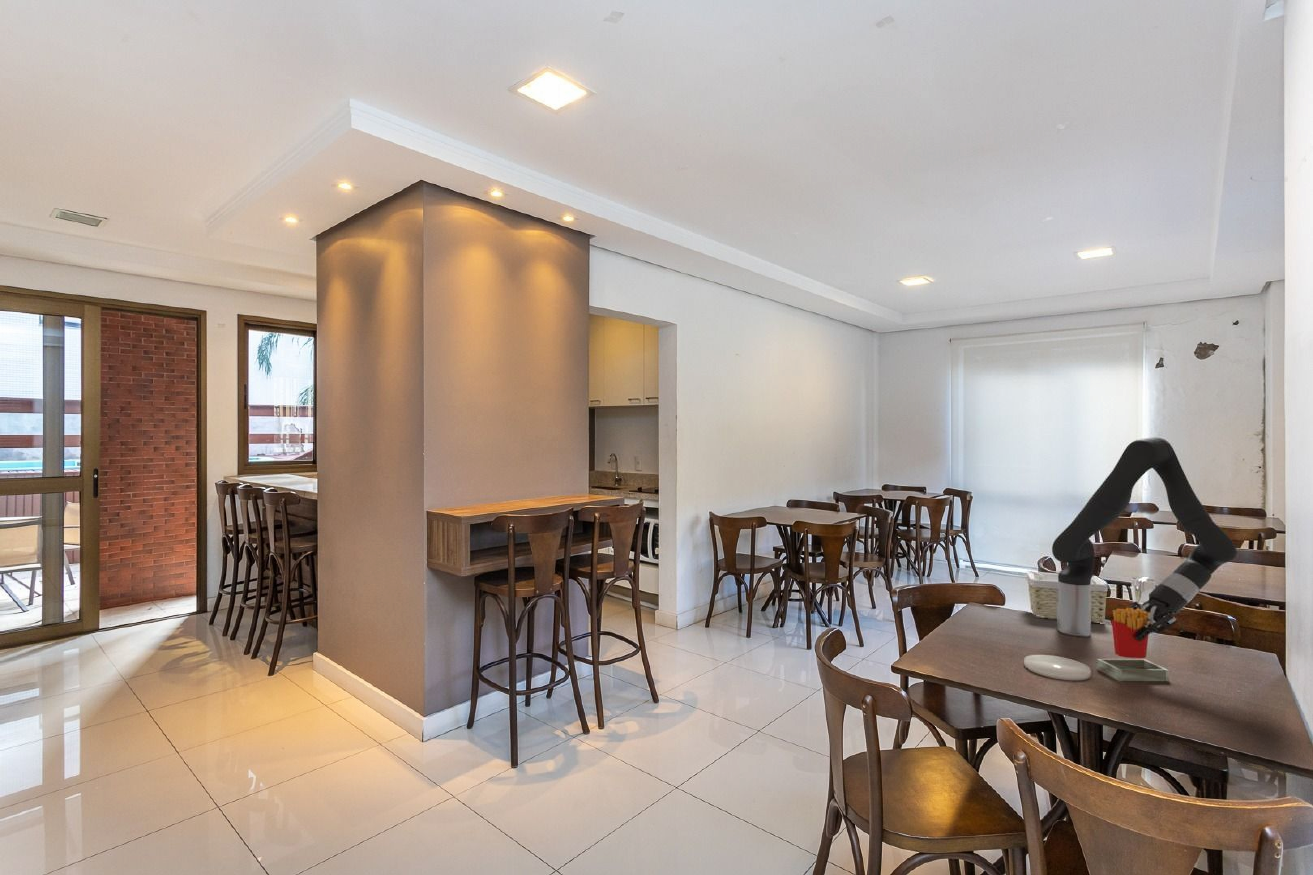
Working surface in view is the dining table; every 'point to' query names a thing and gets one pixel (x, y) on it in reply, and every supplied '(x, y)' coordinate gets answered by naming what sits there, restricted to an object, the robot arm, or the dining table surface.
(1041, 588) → the storage basket
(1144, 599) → the beer glass
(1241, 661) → the dining table surface
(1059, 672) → the ceramic plate
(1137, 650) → the french fries
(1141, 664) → the open rectangular box
